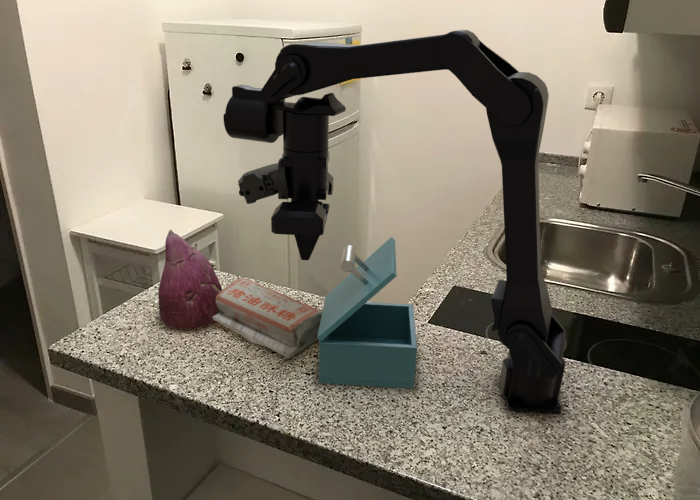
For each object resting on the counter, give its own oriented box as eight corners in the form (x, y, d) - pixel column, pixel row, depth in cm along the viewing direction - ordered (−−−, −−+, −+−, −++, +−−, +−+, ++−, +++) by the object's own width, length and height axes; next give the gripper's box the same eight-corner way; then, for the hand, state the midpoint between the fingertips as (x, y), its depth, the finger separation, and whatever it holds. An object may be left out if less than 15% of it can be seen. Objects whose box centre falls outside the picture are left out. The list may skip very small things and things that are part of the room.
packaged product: (334, 304, 86) (289, 332, 78) (332, 332, 88) (289, 362, 80) (246, 267, 95) (198, 289, 87) (246, 293, 97) (200, 317, 89)
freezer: (410, 341, 86) (413, 304, 84) (413, 388, 76) (417, 348, 73) (326, 336, 87) (326, 299, 84) (318, 383, 76) (318, 342, 74)
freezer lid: (395, 240, 80) (370, 215, 79) (396, 276, 69) (367, 249, 68) (328, 299, 84) (303, 277, 83) (320, 341, 74) (292, 317, 72)
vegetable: (154, 334, 92) (113, 248, 87) (204, 301, 99) (169, 220, 94) (192, 341, 85) (150, 249, 80) (243, 305, 92) (208, 218, 87)
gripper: (256, 129, 83) (259, 231, 89) (225, 163, 65) (231, 287, 72) (334, 132, 82) (332, 234, 89) (324, 168, 65) (321, 291, 71)
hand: (305, 259), depth 80 cm, fingers closed
